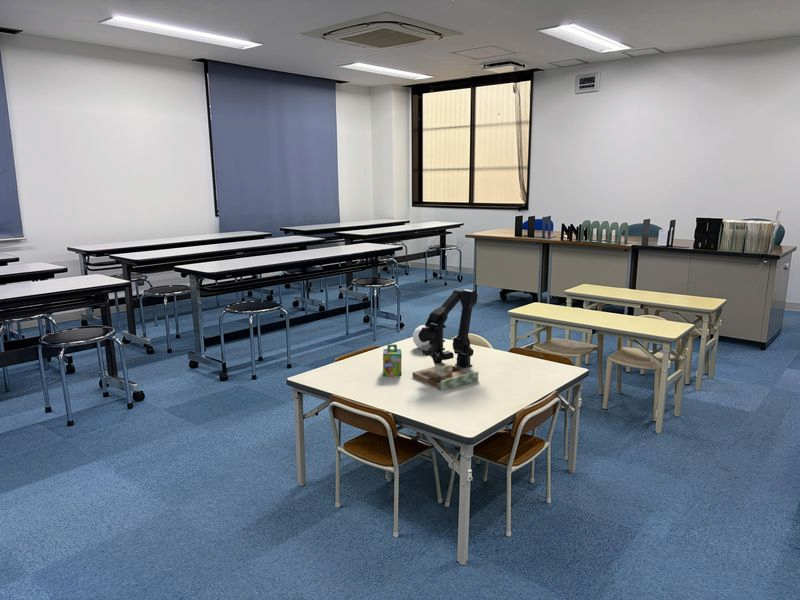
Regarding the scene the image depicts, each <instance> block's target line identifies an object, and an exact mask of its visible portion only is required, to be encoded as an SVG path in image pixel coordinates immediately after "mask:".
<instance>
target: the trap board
mask: <svg viewBox="0 0 800 600" xmlns="http://www.w3.org/2000/svg"><path fill="white" fill-rule="evenodd" d="M412 378H414V379H416V380H418V381H419V382H422V383H424V384H426V385H429V386H431V387H433V388H435V389H436V390H437V389H438V390H439V391H442V392H443V391H446V390H450V389H454V388H457V387H460V386H464V385H468V383H469V384H472V383H475V381H476V382H478V381H479V371H477V370H476V371H473V372H470V371H468V370H464V369H463V368H461V367H458V366H456V365H452V374H450V375H446V376H440V375H438V374H436V373H435V366H434V367H430V368H424V369H419V370H417V371H412Z"/></svg>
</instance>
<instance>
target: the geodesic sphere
mask: <svg viewBox="0 0 800 600" xmlns="http://www.w3.org/2000/svg"><path fill="white" fill-rule="evenodd" d="M423 327H426V326H425V324H423V325H419V326H417V327H416V328H415V329H414V331H413V333H412V340H413V343H414V344H415V346H416V347H417V348H419V349H421V347H422V346H423V345H426V344H429V341H427V342H422V341H420V339H419V336H418V334H419V332H420V331H421V330H422V328H423Z"/></svg>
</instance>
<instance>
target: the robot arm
mask: <svg viewBox="0 0 800 600" xmlns="http://www.w3.org/2000/svg"><path fill="white" fill-rule="evenodd" d="M478 298H479V295H478V293H477V291H476V290H472V289H465V288H464V289H454V290H453V291H452V293H451V294H450V296H449V297H448V298H447V299H446V300H445V301H444V302H443V303H442V305H441V306H439V307H438V308H435V309H434V310H433V311H431V312H430V313H429V316H428V318H427V320H426V322H425V324H424V325H425V326H426V327H423V328H422V330H421V331H420V332H419V334H418V336H419V339H420V341H422V342H427V341H429V344H426V345H423V346H422V347H421V348H420V351H421V353H422V355H425V356H427V357H430V358H431V360H432V361H433V364H434V365H435V364H438V363H442V362H443V361H446V360H450V359H451V360H452V359H454V354H455V355H456V364H454V366H455V367H457V368H460V369H466V368H470V367H473V364H471V357H472V356H473V355H474V352H475V351H474V349H473V348H472V347H471V341H470V338H469V331H470V326H471V325H470V324H471V318H472V310H473V307H475V305H476V304H477V300H478ZM459 302H460V304H461V306H462V307H461V314H460V320H459V326H458V327H459V328H458V333H457V336H455V337H454V338H452V339H453V340H452V349H453V352H452V351H449V350H446V347H444V343H445V342H446V339H444V329H446V328H447V326H446V325H445V323H446V322H447V320H448V315H449V313H450V312H451V311H452V310H453V309H454V308H455V306H457V304H458V303H459Z"/></svg>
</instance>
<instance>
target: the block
mask: <svg viewBox="0 0 800 600" xmlns="http://www.w3.org/2000/svg"><path fill="white" fill-rule="evenodd" d="M452 366H453V364H451V363H449V362H446V361H442V362H441V363H438V364H434V367H435V373H436V374H438V375H440V376H446V375H450V374H452Z"/></svg>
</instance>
